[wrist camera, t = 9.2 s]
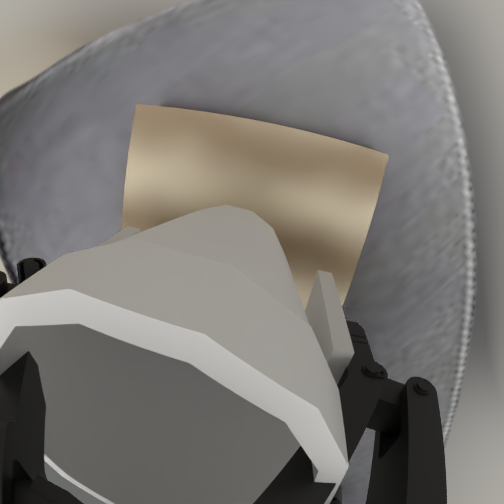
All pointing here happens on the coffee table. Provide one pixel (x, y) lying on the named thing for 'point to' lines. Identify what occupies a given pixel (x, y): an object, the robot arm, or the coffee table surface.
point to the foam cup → (177, 364)
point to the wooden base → (257, 184)
